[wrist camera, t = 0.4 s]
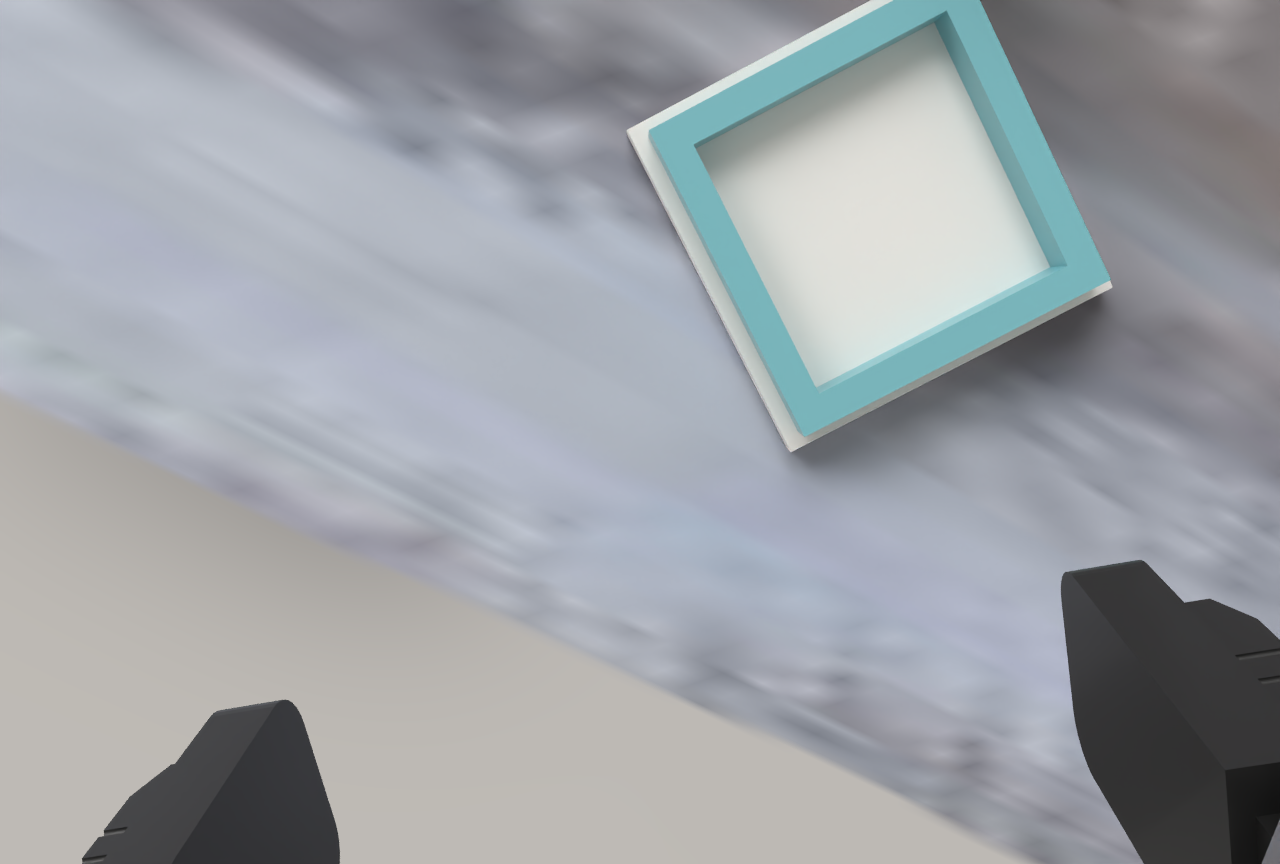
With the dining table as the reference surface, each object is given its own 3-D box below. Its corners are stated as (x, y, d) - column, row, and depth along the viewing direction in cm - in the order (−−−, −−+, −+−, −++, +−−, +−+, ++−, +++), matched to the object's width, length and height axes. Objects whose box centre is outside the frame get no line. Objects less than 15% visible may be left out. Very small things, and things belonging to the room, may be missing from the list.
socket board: (626, 134, 38) (626, 122, 35) (947, -36, 37) (970, -61, 35) (787, 448, 39) (797, 458, 36) (1100, 287, 38) (1132, 286, 36)
